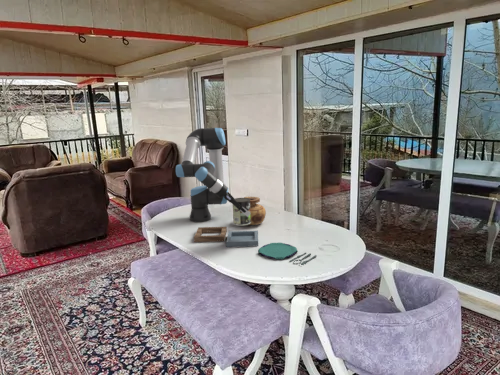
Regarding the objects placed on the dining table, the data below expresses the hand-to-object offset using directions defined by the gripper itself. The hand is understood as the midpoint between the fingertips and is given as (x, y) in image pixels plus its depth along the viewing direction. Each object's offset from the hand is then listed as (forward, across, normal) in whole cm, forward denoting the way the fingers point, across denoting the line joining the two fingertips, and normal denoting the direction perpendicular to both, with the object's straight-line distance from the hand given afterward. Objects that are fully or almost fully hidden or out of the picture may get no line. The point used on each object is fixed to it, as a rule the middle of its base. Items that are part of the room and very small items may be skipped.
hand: (246, 212), depth 215 cm
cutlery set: (+23, +27, -3) cm, 35 cm away
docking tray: (+10, 0, -14) cm, 17 cm away
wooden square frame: (-2, -14, -26) cm, 30 cm away
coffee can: (+2, 0, -7) cm, 7 cm away
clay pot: (+20, -30, -5) cm, 36 cm away
